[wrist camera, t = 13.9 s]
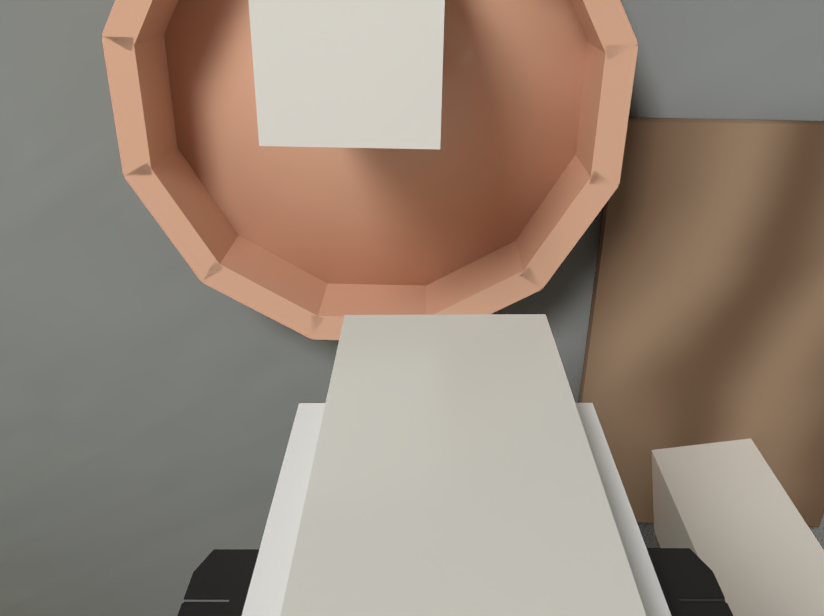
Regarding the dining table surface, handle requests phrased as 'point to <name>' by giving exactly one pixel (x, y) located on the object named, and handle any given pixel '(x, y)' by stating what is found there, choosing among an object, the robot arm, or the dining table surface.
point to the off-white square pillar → (738, 527)
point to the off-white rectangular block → (455, 479)
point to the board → (713, 300)
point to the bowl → (377, 162)
